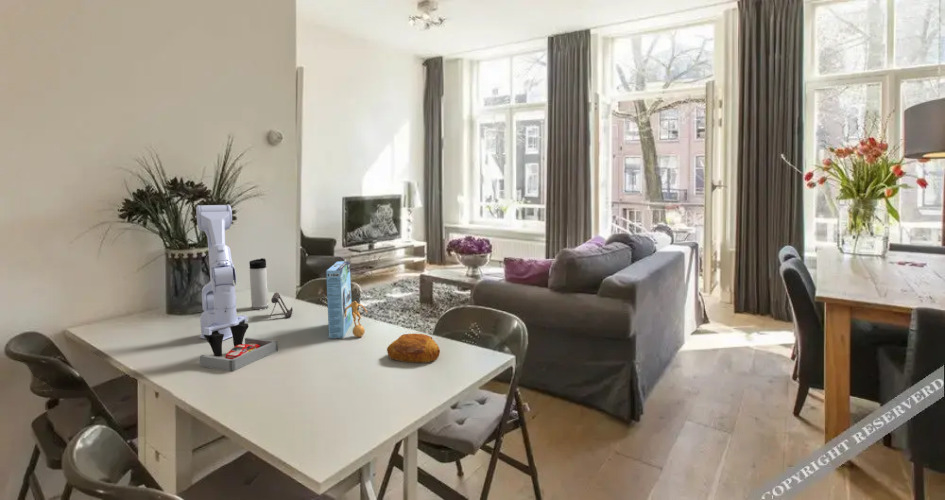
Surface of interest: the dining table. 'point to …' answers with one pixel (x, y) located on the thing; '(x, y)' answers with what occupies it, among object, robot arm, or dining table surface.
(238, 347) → the race car
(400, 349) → the croissant
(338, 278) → the blue product box
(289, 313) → the portable electronic device stand
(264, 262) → the travel mug
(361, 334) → the figurine
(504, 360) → the dining table surface
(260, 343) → the grey u-shaped wall
